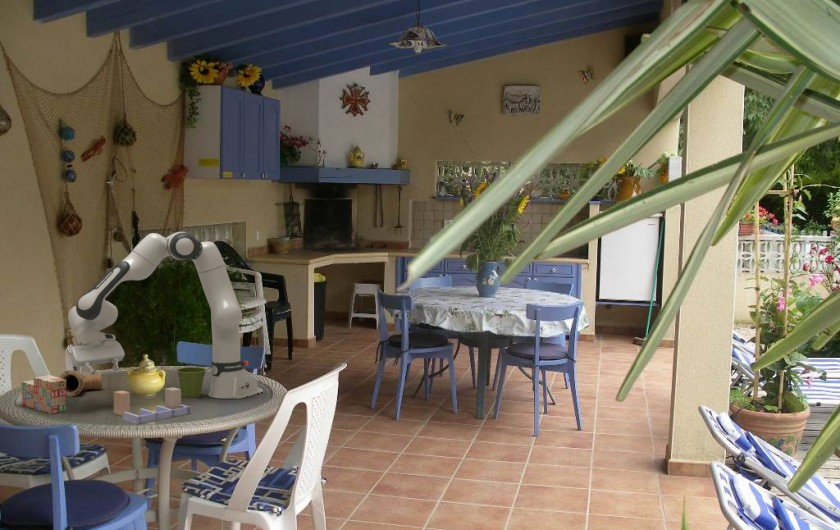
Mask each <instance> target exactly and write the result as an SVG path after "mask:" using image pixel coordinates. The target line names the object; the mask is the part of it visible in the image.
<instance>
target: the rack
mask: <svg viewBox="0 0 840 530" xmlns="http://www.w3.org/2000/svg"><path fill="white" fill-rule="evenodd" d="M191 407H192V406H190V405H186V404H182V403H181V408H178V409H169V408H166V407H165V406H162V405H156V406H155V411H153V410H149V409H146V408H143V407H142V408H139V415H138V414H135V413H132V412H130V413H129V412H123V415H122V420H123V421H127V422H130V423H132V424H134V425H135V424H136V425H140V424H146V423H149V422H155V421H160V420H166V419H170V418H177V417H179V416H184V415H186V416H187V415H189V414H190V415H191V414H192V408H191Z"/></svg>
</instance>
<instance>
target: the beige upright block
mask: <svg viewBox="0 0 840 530" xmlns="http://www.w3.org/2000/svg"><path fill="white" fill-rule="evenodd" d="M181 404H182V394H181V388H177V387H174V386H173V387H167V388H164V407H166V408H169V409H178V408H181Z"/></svg>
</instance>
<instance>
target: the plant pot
mask: <svg viewBox="0 0 840 530" xmlns="http://www.w3.org/2000/svg"><path fill="white" fill-rule="evenodd" d="M206 371H207V368H205V367H199V366H197V367H196V366H195V367H194V366H187V367H186V366H185V367H181V368H180V367H179V368H177V369H176V370H175V372H177V376H178V379H179V386H180V388H179V389H181V398H185V397H187V398H194V399H198V398H200V397H201V394H202V389H203V382H204V378H205V375H206Z"/></svg>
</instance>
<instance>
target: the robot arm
mask: <svg viewBox="0 0 840 530" xmlns="http://www.w3.org/2000/svg"><path fill="white" fill-rule="evenodd" d="M166 257H170V258H173V259H175V260H178V261H190V260H191V261H192V262H193V264H194V266H195V268H196V271H197V274H198V277H199V280H200V283H201V286H202V289H203V292H204V295H205V298H206V301H207V303H208V305H209V308H210V313H211V314H210V315H211V316H210V317H211V318H210V319H211V339H212V360H211V366H210V367H211V368H210V369H211V374H212V375H211V382H210V389H209V392H208V396H209V397H210V398H215V399H236V400H237V399H238V400H239V399H243V398H248V397H251V396H255V395H258V394H257V393H259V394H262V393H264V390H263V388H261V387H259V386H258V380H257V378H256V376H254V375H253V374H252V373H251V372H249V371H248V370H246V369H245V367H248V366H249V365H250V364H249V361H248V360H242V359H241V336H240V335H241V334H240V324H241V321H242V317H243V311H242V309H241V307H240V303H239V301H238V298H237V295H236V293H235V290H234V287H233V285H232V283H231V279H230V277H229V273H228V271H227V267H226V264H225V261H224V259H223V256H222V254H221V252H220V250H219V248H218V246H217V245H216V244H215V242H212V241H209V240H208V241H202V242H200V241H199V240H198V239H197V238H196V237H195V236H193V235H192V234H190V233H188V232H185V231H177V232H173V233H171V234H169V235H167V236H163V235H161V234H159V233H157V232H155V233H154V232H152V233H148V234H147V235H146V236H144V237H143V239H142V240H140V241H139V242H138V243H137V244H136V246H134V247H133V249H132V250H131V252H130V253H129V254H128V255H127V256H126V257H125V258H124V259H122V260H121V261H118V262H117V263H116V264H114V265H113V266H111V268H110V269H109V270H108V271H107V272H106V273H105V274H104V275H103V276H102V277H101V278H100V279H99V280H98V281H97V282H95V284H94V285H93V286H92V287H91V288H90V289H88V290H86V292H84V293H83V294H81V295H80V296H79V298H78V299H77V301H76V304H75V305H74V306H73V307H71V308H70V310H69V311H68V314H67V319H68V323H69V326H70V329H71V331H72V333H73V334H74V336H75V337H76V344H69V345H68V346H67V347H66V349H67V351H68V353H69V354H70V359H71V363H72V365H73V366H74V367H81V366H82V367H83V368H84V369H85V370H86V371H88V372H89V375H94V374H96V370H95V368H94V367H92V366H93V365H94V366H95V365H100V364H107V363H112V368H111V369H112V371H114V372H116V371H118V370H119V368H120V367H119V366H118V364H119V362H121V361H123V360H124V357H125V355H126V353H125V349H124V348H123V347H122V345H121V343H120V342H118V340H116V336H115V334H111V333H105V332H101V331H103V330H105V329H107V328H109V327H110V326H112V325H113V324H115V323H116V321H117V319H118V317H119V311H118V308H117V306H116V305H115V304H113V303H111V302H110V301H108V300H106V298H107V297H108V295H110V294H111V293H112V292H113V290H115V289H116V287H118V286H119V285H120V283H122V282H125V281H142V280H145V279H147V278H148V277H150V276H151V275H152V274H153V272H154V271H155V270H156V268H157V267H158V265H160V263H161V262H162V261H163V260H164V259H165V258H166ZM261 392H262V393H261ZM254 394H255V395H254ZM247 396H248V397H247Z"/></svg>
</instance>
